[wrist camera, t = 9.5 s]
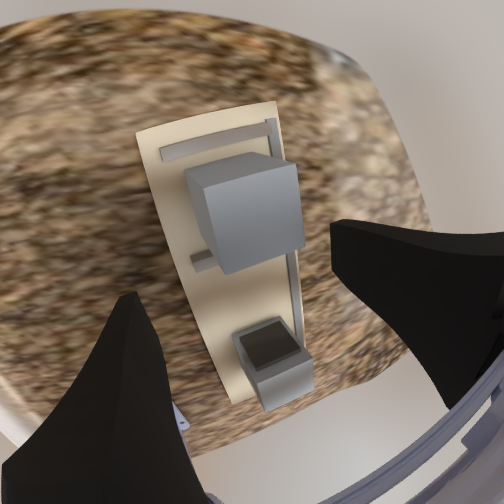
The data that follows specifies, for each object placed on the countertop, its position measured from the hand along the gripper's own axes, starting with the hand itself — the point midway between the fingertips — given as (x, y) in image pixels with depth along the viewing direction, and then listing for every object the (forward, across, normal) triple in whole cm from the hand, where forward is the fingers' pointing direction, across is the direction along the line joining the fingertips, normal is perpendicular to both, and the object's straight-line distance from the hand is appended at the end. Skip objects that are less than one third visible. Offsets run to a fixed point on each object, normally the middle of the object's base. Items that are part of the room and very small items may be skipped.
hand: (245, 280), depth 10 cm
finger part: (+8, -2, -1) cm, 8 cm away
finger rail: (+9, -2, +6) cm, 11 cm away
